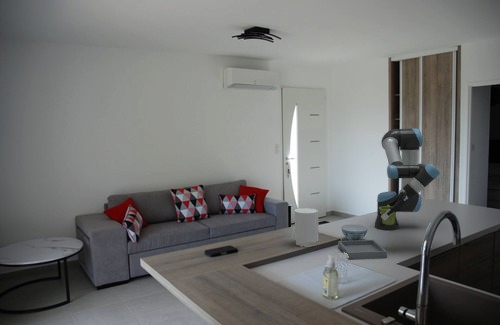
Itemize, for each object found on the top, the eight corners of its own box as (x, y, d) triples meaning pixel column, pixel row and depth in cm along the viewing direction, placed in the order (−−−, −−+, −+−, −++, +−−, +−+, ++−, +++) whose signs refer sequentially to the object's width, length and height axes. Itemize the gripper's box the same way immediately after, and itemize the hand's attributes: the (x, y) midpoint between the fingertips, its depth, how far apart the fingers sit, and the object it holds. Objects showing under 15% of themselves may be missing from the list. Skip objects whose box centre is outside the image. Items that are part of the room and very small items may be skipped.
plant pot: (399, 225, 206) (399, 209, 205) (380, 225, 208) (380, 209, 207) (395, 221, 215) (395, 206, 214) (378, 221, 217) (378, 206, 216)
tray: (338, 247, 218) (338, 241, 218) (373, 245, 219) (373, 239, 218) (348, 259, 198) (348, 252, 198) (386, 257, 199) (386, 251, 198)
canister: (304, 249, 217) (303, 214, 214) (290, 242, 228) (290, 209, 226) (323, 245, 223) (322, 211, 221) (309, 239, 235) (308, 206, 233)
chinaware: (338, 242, 226) (338, 229, 225) (344, 235, 239) (344, 223, 239) (364, 245, 219) (364, 232, 218) (369, 238, 232) (369, 225, 232)
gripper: (422, 196, 195) (389, 226, 201) (415, 189, 216) (385, 216, 222) (410, 186, 196) (378, 216, 202) (405, 180, 217) (376, 207, 223)
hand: (382, 216), depth 212 cm, fingers closed on plant pot, 9 cm apart
